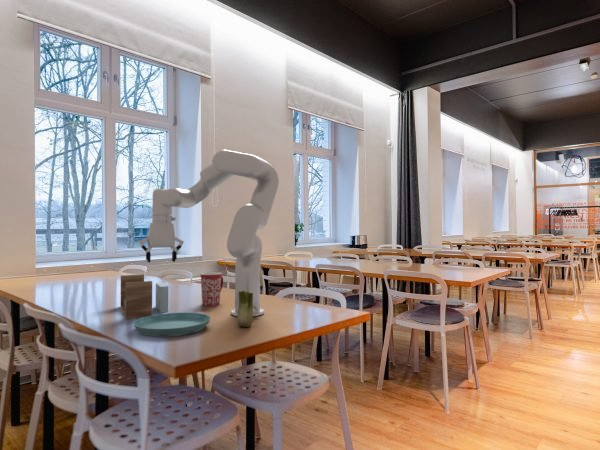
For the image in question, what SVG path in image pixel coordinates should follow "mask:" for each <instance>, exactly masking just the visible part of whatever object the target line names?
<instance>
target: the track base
mask: <svg viewBox="0 0 600 450" xmlns="http://www.w3.org/2000/svg"><path fill="white" fill-rule="evenodd" d="M120 306H121V307H120ZM120 306H119V307H120V308H121V311H122V314H123V315H125V316H124V318H125V320H130V319H140V318H144V317H148V316H152V315H153V281H152V280H147V281H145V274H125V275H120Z"/></svg>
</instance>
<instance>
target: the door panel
mask: <svg viewBox="0 0 600 450" xmlns="http://www.w3.org/2000/svg"><path fill="white" fill-rule="evenodd" d="M155 308H156V309H157V311H158V312H160V313H167V312H169V285H167V284H166V283H164V282H155Z"/></svg>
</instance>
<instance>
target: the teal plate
mask: <svg viewBox="0 0 600 450" xmlns="http://www.w3.org/2000/svg"><path fill="white" fill-rule="evenodd" d="M210 321H211V316H210V315H208V314H204V313H201V312H200V313H198V312H169V313H167V312H166V313H160V314H152V316H148V317H142V318H137V319H135V320H134V322H133V323H132V324H133V327H134V328H135V329H136V330H137V331H138V332H140V333H141V334H142V335H145V336H149V337H159V338H160V337H166V338H167V337H179V336H184V335H185V336H187V335H191V334H194V333H197V332H199V331H202V330H203V329H204V328H205V327H206V326H207V325H208V324H209V323H210Z"/></svg>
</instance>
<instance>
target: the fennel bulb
mask: <svg viewBox="0 0 600 450" xmlns="http://www.w3.org/2000/svg"><path fill="white" fill-rule="evenodd" d="M236 317H237V318H236V321H237V323H236V324H237V325H238V326H240V327H242V328H249V327H251V326H252V323H253V318H254V316H253V293H249V292H245V291H239V308H238V316H236Z"/></svg>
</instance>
